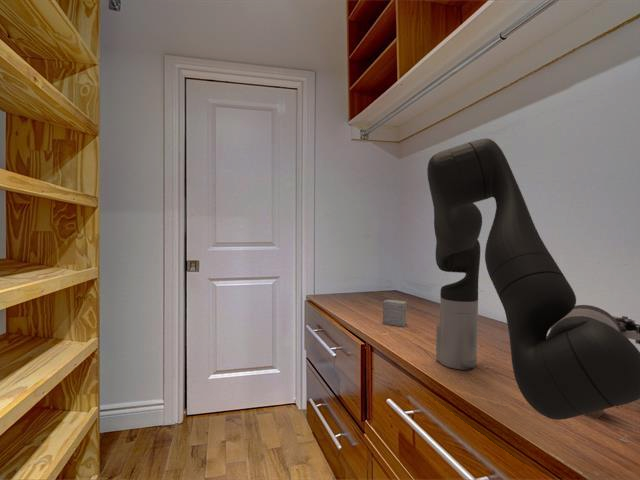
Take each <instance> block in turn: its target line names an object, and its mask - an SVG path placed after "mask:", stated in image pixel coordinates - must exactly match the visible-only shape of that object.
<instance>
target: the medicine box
mask: <svg viewBox="0 0 640 480" xmlns="http://www.w3.org/2000/svg"><path fill="white" fill-rule="evenodd" d="M407 318H408V317H407V301H404V300H403V301H401V300H395V299H386V300H384V301H382V324H383V325H389V326H396V327H402V328H403V327H405V326H406V325H407V323H408V322H407Z"/></svg>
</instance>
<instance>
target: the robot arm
mask: <svg viewBox="0 0 640 480" xmlns="http://www.w3.org/2000/svg"><path fill="white" fill-rule="evenodd" d="M426 170H427V182H428V186H429V191H430V196H431V200H432V205H433V218H434V219H433V227H434V236H435V239H436V240H435V241H436V242H435V243H436V244H435V262H436V265H437V268H438V269H439V270H440V271H442V272H445V273H460V274H461V273H463V274H465V275H464V277H463V278H461V279H460V280H458V281H456V282H453V283H449V284H448V283H447V284H444V285H443V286H441V288H440V293H439V294H440V295H439V296H440V302H439V303H440V304H439V305H440V307H439V308H440V309H439V324H437V325H436V331H435V332H436V336H435V337H436V339H435V361H438V362H439V363H440V364H441V365H442V366H445V367H447V368H450V369H455V370H461V371H462V370H467V371H469V370H473V369H475V367H477V366H478V365H477V363H478V362H477V361H478V357H477V356H478V329H479V328H478V327H479V326H478V325H479V324H478V323H479V321H478V319H479V318H478V317H479V275H480V263H481V244H480V241H479V238H480V234H481V231H482V226H483V215H482V213H481V210H480V208H479V207H478V206H477V205H476V204H475V203H478V202H482V201H485V200H488V199H490V198H494V200H495V206H496V207H495V214H494V218H493V221H492V224H491V227H490V231H489V234H488V237H487V240H486V243H485V251H484V262H485V267H486V270H487V274H488V276H489V278H490V280H491V282H492V284H493V288H494V289H495V292H496V294H497V296H498V298H499V300H500V302H501V303H500V304H502V307H503V309H504V313H505V318H506V322H507V324H506V325H507V330H508V334H509V335H508V336H509V344H510V355H511V364H512V371H513V374H514V375H513V376H514V379H515V382H516V385H517V387H518V389H519V391H520V394H521V395H522V397H523V398H524V399H525V401H526V402H527V403H528V404H529V405H530V407H531V408H532V409H534V410H535V411H536V412H538V414H541V416H543V417H545V418H547V419H551V420H557V421H559V420H560V421H561V420H568V419H572V418H576V417H581V416H583V415H584V414H588V413H592V412H596V411H599V410H603V409H604V410H607V409H611V408H614V407H620V406H623V405H626V404H627V405H628V404H632V403H633V402H637V401H638V400H640V350H639V349H638V348H637V346H636V345H637V344H638V345H640V324H639V323H636V321H635V320H634V319H632V318H629V317H628V316H624V315H622V316H621V317H619V316H615V315H612V314H610V313H609V312H608V311H606V310H605V309H602V308H600V307H597V306H594V305H588V304H578V305H576V304H577V296H576V293H575V291H574V289H573V287H572V286H571V284H570V283H569V281H568V279H567V278H566V276H565V275H564V274H563V271H562V270H561V268H560V266H559V265H558V264H557V262H556V261H555V259H554V257H553V256H552V255H551V253H550V251H549V250H548V248H547V247H546V245H545V242H544V241H543V240H542V238H541V236H540V234H539V231H538V229H537V228H536V226H535V223H534V220H533V218H532V216H531V213H530V211H529V208H528V206H527V204H526V203H527V202H526V201H525V198H524V197H523V194H522V191H521V189H520V186H519V184H518V182H517V180H516V177H515V174H514V173H513V171H512V169H511V166H510V164H509V162H508V159H507V157H506V155H505V154H504V152H503V150H502V148H501V147H500V146H499V144H498V143H496V142H495V140H493V139H491V138H482V139H481V138H480V139H475V140H473V141H468V142H466V143H463V144H460V145H459V144H458V145H457V146H454V147H450V148H447V149H445V150H440V151H439V152H437V153H435V154H433V155H432V156H431V157H430V158H429V160H428V164H427V169H426ZM631 340H635V341H634V342H635V344H636V345H635V344H634V343H633V342H632V341H631Z"/></svg>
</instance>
